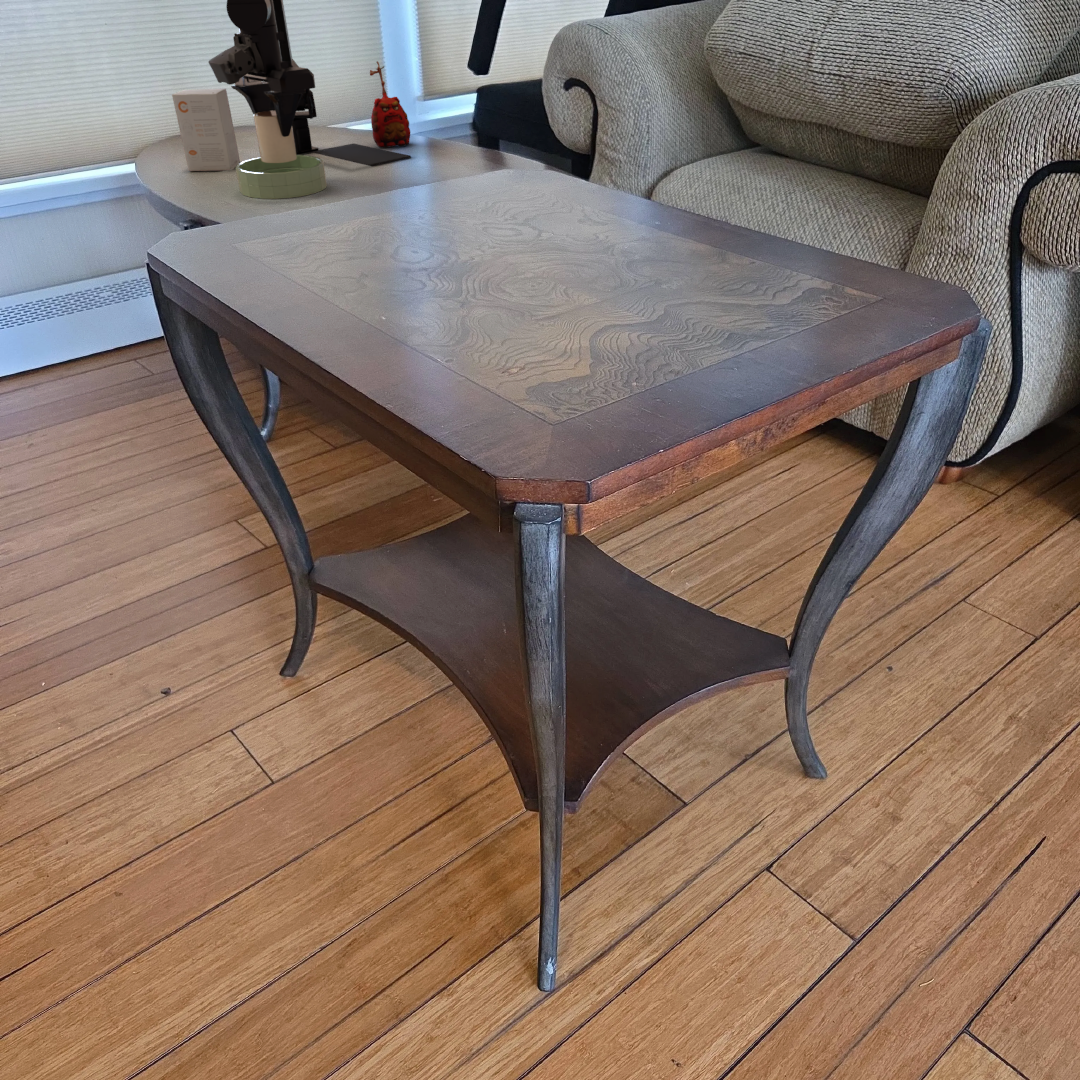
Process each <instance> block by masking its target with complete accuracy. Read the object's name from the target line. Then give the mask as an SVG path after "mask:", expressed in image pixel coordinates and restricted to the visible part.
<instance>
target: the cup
mask: <svg viewBox="0 0 1080 1080" xmlns="http://www.w3.org/2000/svg"><path fill="white" fill-rule="evenodd" d="M252 115H253V114H252ZM253 121H254V127H255V132H256V139H257V145H258V150H259V155H260V156H259V157H261V161H262V162H265V163H285V162H290V161H294V160H296V159H297V155H296V148H295V142H294V135H293V128H292V127H291V131H290V134H289V136H286V137H283V136H282V134H281V130H280V127H279V123H278V119H277V115H276V111H265V112H259V113H256V114H254V115H253Z"/></svg>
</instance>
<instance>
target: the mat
mask: <svg viewBox="0 0 1080 1080" xmlns="http://www.w3.org/2000/svg"><path fill="white" fill-rule="evenodd" d="M311 154H317V155H321V156H324V157H325V156H326V157H329V158H334V159H338V160H343V161H345V162H346V161H347V162H351V163H356V164H359V165H364V166H367V167H368V166H369V167H376V166H379V165H384V164H389V163H393V162H398V161H402V160H407V159H412V156H411V155H410V154H409V155H408V154H405V153H400V152H396V151H392V150H386V149H383V148H382V149H381V148H377V147H372V146H367V145H363V144H357V143H349V144H344V145H338V146H334V147H329V148H322V149H319V150H318V151H313V152H308V153H303V154H298V155H311Z"/></svg>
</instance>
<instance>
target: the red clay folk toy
mask: <svg viewBox="0 0 1080 1080" xmlns="http://www.w3.org/2000/svg"><path fill="white" fill-rule="evenodd" d="M376 63H377V68H375V70H372V69H370V70H369V76H374V75H375V74H378V75H379V78H380V84H381V87H382V88H381V89H382V90H381V91H382V92H381V93H382V97H381V98H379V97H377V98H375V99H374V102H373V108H372V111H371V115H370V116H371V118H370V120H371V121H370V122H371V129H372V138H373V141H374V143H375V145H376V146H378V147H379V148H382V149H383V148H389V147H390V148H392V147H406V146H408V145H410V139H411V128H410V121H409V119H408V114H407V112H405V109H404V108H403V105H401V101H400V99H399V98H398V96H392V97H390V96H389V97H388V94H387V91H386V89H385V85H386V82H385V81H384V80H383V73H382V70H383V69H384V68H385V66H384V65H383V66H382V67H381V66H380V65H381V64H380V63H379V60H378V61H376Z"/></svg>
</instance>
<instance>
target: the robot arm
mask: <svg viewBox="0 0 1080 1080" xmlns="http://www.w3.org/2000/svg"><path fill="white" fill-rule="evenodd" d="M225 8H226V13H227V16H228V18H229V20H230V22H232V24H233V25H234V26H235V27H236V28H238V30H239V32H236V33H234V36H233V44H234V45H233V46H231V47H229V48H227V49H225V50H223V51H221V52H220V53H219V54H216V55H215V56H213V57H212V58H211V59H209V60H208V62H207V63H208V65H209V67H210V69H211V70H212V72H213V73H212V74H213V75H214V77H215V78H216V80H217V83H219V84H222V83H225V84H226V85H229V86H230V85H231V89H233V90H234V91H236V92H238V93H239V94H240V95H242V97H244V98H245V100H246V102H247V104H248V106H249V107H250V108H249V109H250V111H251V112H252V115H254V114H256V113H259V112H265V111H276V115H277V119H278V123H279V127H280V130H281V134H282V136H283V137H286V136H289V134H290V131H291V127H292V128H293V135H294V142H295V148H296V155H298V154H303V153H308V152H313V151H318V150H320V148H319V147H318V146H317V147H316V146H313V145H312V138H311V130H310V127H309V126H310V125H309V120H313V119H314V118H317V117H318V114H317V108H316V102H315V97H314V92H313V91H312V90H313V89H315V88H316V82H315V74H314V73H313V72H312V71H311V70H310V68H307V67H300V66H299V65H298V64H297V63H296V61H295V60H294V59H293V55H292V48H291V42H290V36H289V30H288V25H287V19H286V18H287V17H286V11H285V5H284V0H226V7H225ZM311 89H312V90H311Z"/></svg>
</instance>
